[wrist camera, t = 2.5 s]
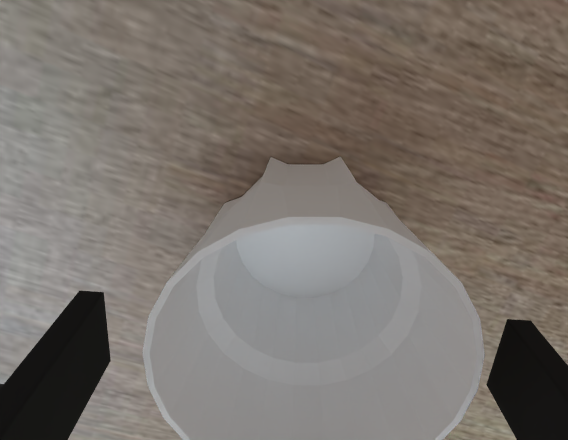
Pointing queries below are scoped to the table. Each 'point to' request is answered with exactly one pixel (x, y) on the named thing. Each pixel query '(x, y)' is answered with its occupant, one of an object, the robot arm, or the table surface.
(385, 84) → the table surface
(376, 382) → the cup
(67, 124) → the table surface
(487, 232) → the table surface
